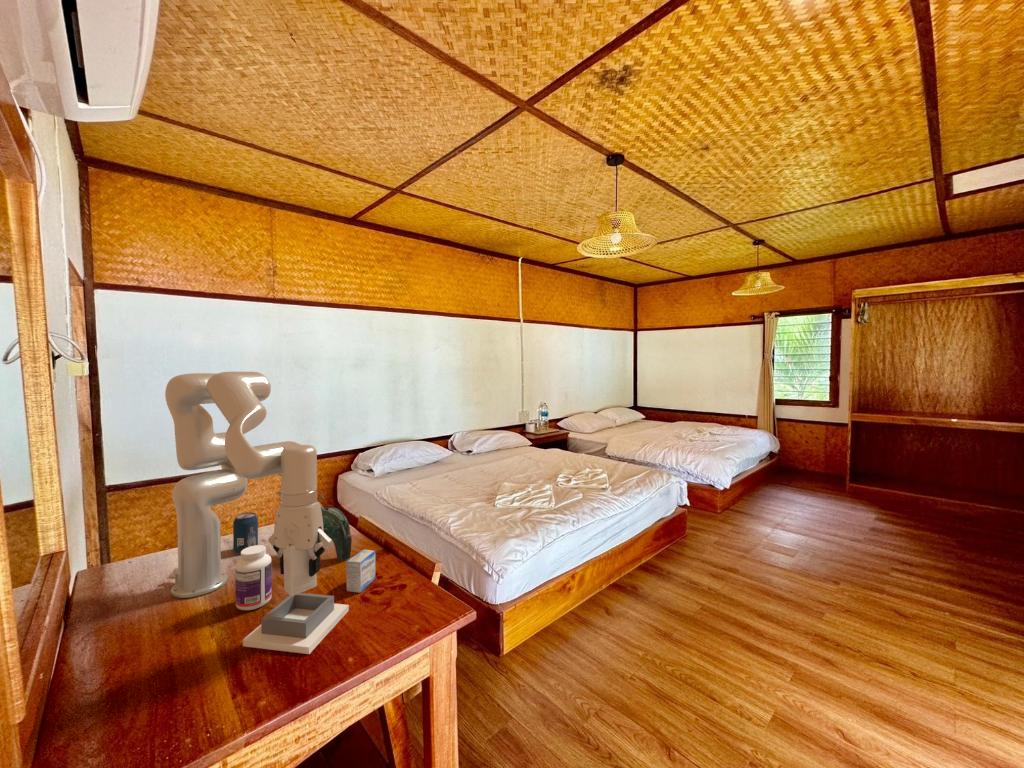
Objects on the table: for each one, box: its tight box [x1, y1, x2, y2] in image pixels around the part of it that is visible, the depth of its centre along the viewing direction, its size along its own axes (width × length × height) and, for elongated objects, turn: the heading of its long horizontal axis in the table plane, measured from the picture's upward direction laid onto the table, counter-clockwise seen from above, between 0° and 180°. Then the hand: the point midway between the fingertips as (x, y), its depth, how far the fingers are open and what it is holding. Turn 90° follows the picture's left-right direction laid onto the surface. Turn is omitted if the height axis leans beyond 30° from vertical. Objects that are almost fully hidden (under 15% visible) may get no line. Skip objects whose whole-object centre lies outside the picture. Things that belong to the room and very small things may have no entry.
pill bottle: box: [234, 544, 273, 611], centre depth 105 cm, size 8×8×14 cm
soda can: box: [232, 512, 259, 555], centre depth 136 cm, size 7×7×12 cm
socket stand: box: [242, 592, 350, 655], centre depth 96 cm, size 16×16×5 cm
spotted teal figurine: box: [317, 494, 353, 562], centre depth 134 cm, size 20×6×20 cm, turn 67°
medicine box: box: [346, 549, 376, 594], centre depth 115 cm, size 8×4×9 cm, turn 168°
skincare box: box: [283, 544, 318, 596], centre depth 96 cm, size 6×4×12 cm
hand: (300, 571), depth 96 cm, fingers closed on skincare box, 6 cm apart
